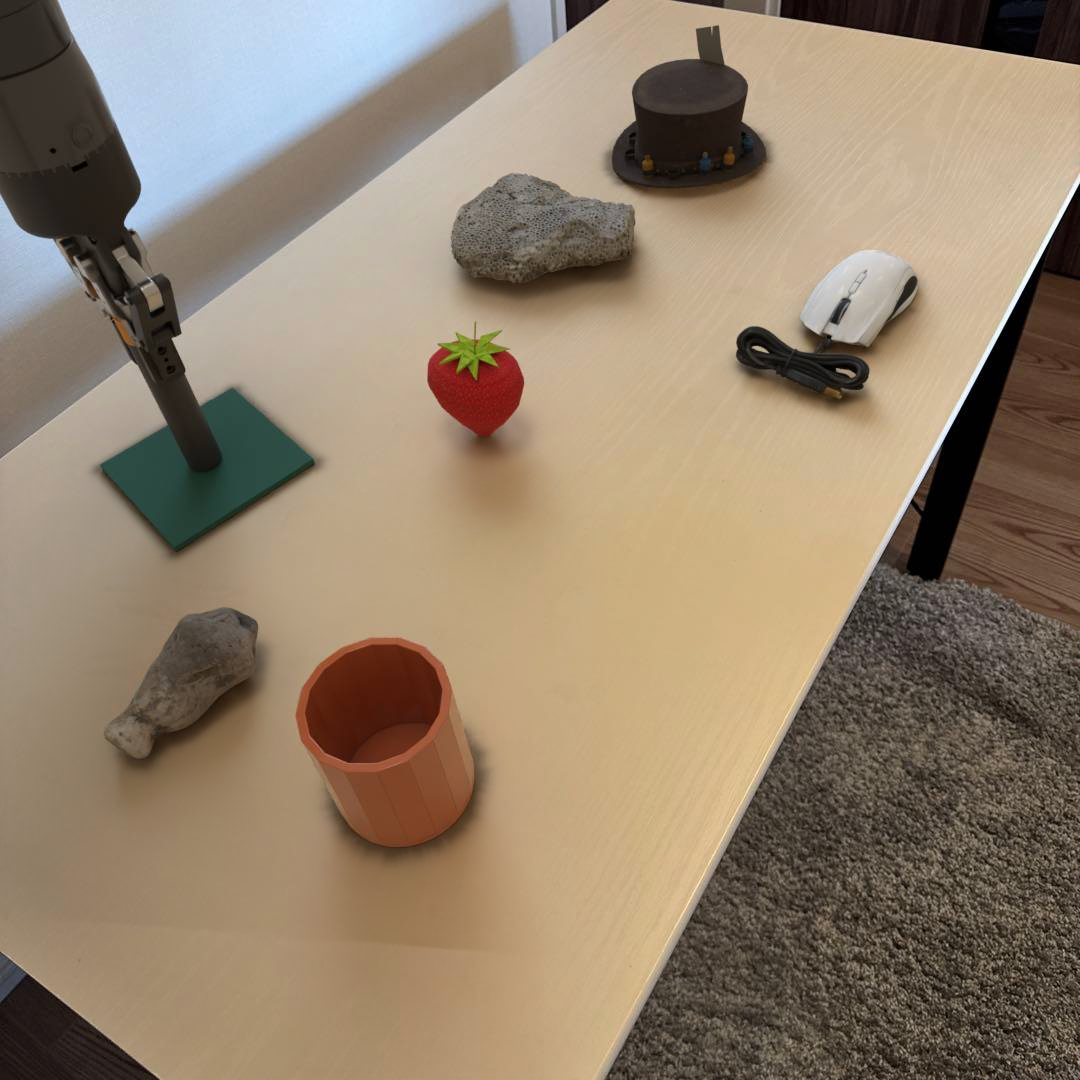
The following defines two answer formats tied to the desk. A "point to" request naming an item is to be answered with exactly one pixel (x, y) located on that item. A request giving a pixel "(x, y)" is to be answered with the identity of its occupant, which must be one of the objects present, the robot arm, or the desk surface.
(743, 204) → the desk surface
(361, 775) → the pen cup
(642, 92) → the top hat
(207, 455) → the marker
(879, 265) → the computer mouse
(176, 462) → the mat
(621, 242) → the rock
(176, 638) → the stone
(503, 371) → the strawberry
